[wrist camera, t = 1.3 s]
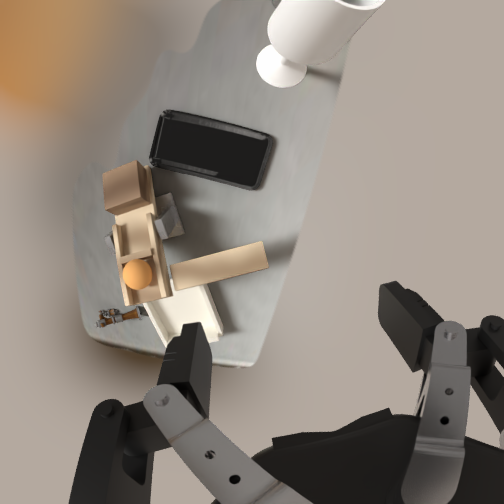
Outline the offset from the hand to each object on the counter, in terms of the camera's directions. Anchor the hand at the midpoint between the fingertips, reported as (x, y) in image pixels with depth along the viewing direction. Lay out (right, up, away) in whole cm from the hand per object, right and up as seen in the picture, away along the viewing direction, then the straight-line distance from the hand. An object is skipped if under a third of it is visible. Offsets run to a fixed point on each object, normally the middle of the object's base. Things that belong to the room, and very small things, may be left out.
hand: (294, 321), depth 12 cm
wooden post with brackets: (-24, -7, +32) cm, 41 cm away
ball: (-15, 0, +19) cm, 24 cm away
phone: (-7, +16, +24) cm, 30 cm away
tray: (-13, -5, +32) cm, 35 cm away
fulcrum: (-16, +7, +26) cm, 32 cm away
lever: (-10, +7, +22) cm, 25 cm away
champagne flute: (+2, +27, +19) cm, 33 cm away
